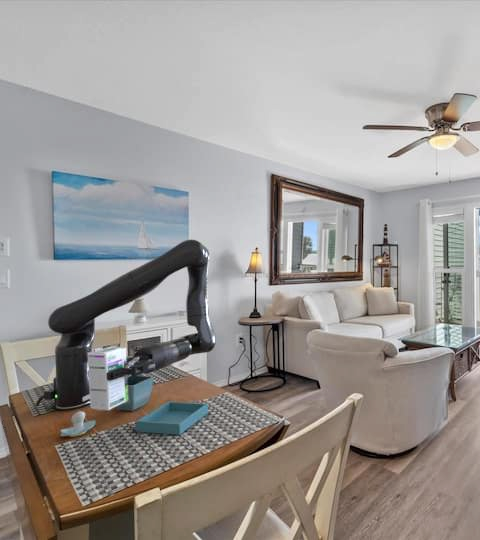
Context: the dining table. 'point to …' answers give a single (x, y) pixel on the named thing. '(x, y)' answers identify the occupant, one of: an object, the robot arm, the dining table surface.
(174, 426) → the tray
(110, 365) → the syrup box
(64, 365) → the robot arm
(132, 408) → the flower pot
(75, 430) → the pacifier
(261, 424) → the dining table surface
